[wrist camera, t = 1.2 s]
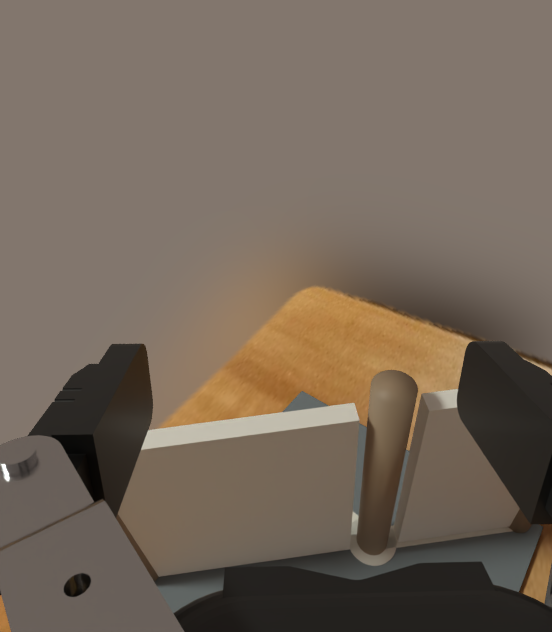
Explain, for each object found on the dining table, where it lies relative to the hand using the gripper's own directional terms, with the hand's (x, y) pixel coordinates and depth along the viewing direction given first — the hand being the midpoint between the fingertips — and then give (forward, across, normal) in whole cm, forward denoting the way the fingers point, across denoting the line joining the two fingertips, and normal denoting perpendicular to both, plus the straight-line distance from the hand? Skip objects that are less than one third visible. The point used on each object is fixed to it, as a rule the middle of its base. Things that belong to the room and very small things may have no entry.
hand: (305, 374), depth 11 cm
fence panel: (+11, +3, +20) cm, 23 cm away
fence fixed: (+12, -11, +19) cm, 25 cm away
